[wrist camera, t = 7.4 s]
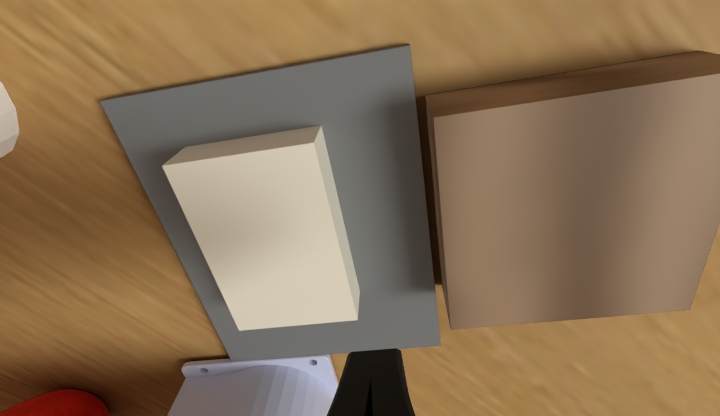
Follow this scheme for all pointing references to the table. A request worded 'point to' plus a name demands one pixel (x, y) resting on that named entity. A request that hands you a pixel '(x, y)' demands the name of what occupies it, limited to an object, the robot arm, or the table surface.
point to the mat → (351, 176)
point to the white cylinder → (7, 123)
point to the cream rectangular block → (270, 227)
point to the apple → (60, 405)
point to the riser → (577, 191)
